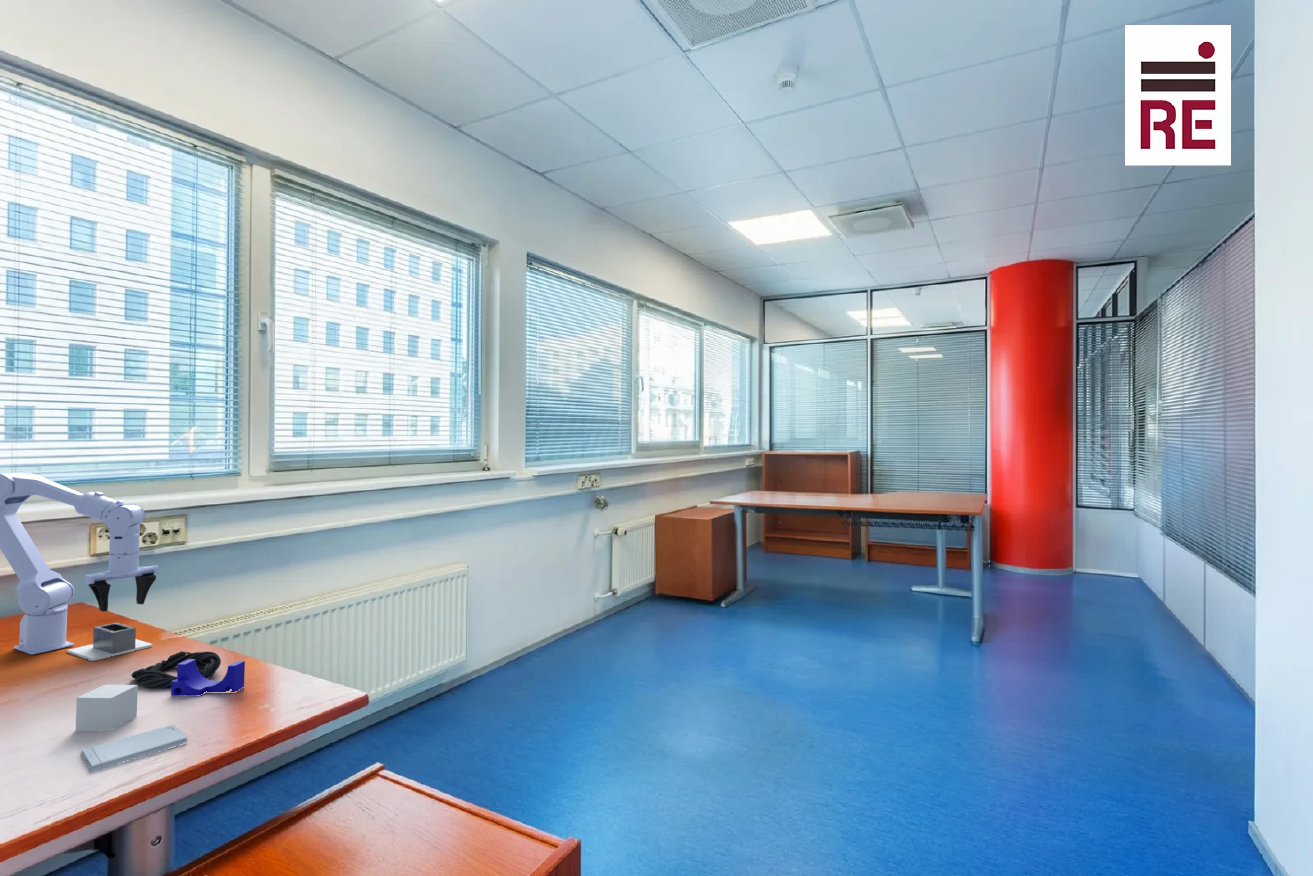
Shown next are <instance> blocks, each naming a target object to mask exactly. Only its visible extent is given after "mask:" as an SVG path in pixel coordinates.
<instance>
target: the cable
mask: <svg viewBox="0 0 1313 876" xmlns="http://www.w3.org/2000/svg"><path fill="white" fill-rule="evenodd" d="M188 659H196V666H197V668H200V669H198V671H199V672H200V674H201V675H202V676H203V677H205V678H206V679H207V678H208V679H211V678H212V676H213V675H214V674H215V673H216V671H217V670H218V669H219V668H220V666H221V664H222V663H221V662H222V661H221V660H222V659H221V658H220V656H219V654H217V652H214V651H197V652H196V651H195V652H190V651H179V652H176V653H173V654H171V655H170V656H168V657H167V659H166V660H164V659H161V660H160V661H159V662H157V663H156V664H153V665H149V666H147V667H144V668H140V669H138V670H134V671H133V672H132V673H131V678H132V679H134V680H135V681H134V682H135V683H137V682H140V684H141V685H143V686H144V687H145V688H154V687H156V688H158V689H164V688H171V681H174V680H176V679H177V676H174V675H173V674H169V673H167V672H164V669H165V670H170V669H169V668H171V669H174V668H176V667H178V664H179V663H181V662H184V661H186V660H188ZM204 668H205V669H204Z"/></svg>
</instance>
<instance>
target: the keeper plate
mask: <svg viewBox="0 0 1313 876" xmlns="http://www.w3.org/2000/svg"><path fill="white" fill-rule="evenodd" d="M152 647H153V643H150V642H147V641H144V640H140V639H137V638H136V640H135V649H131V650H127V651H122V652H118V653H114V654H111V653H108V652H105V651H102V650H99V649H96V648H93V643H92V644H86V645H82V646H79V647H74V648H70V649H66V653H68V654H69V655H70V654H71V655H73V656H76V655H77V657H79V658H82V659H85V660H87V659H88V661H90V662H95V661H99V660H103V659H107V658H111V656H112V657H116V656H119V655H123V654H128V653H132V652H136V651H139V650H143V649H148V648H152ZM135 650H136V651H135ZM115 655H116V656H115Z"/></svg>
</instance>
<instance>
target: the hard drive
mask: <svg viewBox="0 0 1313 876" xmlns="http://www.w3.org/2000/svg"><path fill="white" fill-rule="evenodd" d="M185 742H187V743H188V737H187V735H185V734H184V733H183V732H182V731H181V730H180V729H179V728H178V726H176V725H175V724H169V725H166V726H163V727H160V728H156V729H153V730H152V729H151V730H149V731H145V732H141V733H137V734H134V735H130V736H126V737H123V738H120V739H116V740H112V741H109V742H105V743H101V744H99V745H95V746H91V747H88V748H84V749H82V750H81V753H80V755H81V757H82V759H83V760H84V762H85V764H86V765H87V767H88V768H89V770H90V772H91V773H93V772H96V771H100V770H103V769H107V768H110V767H112V766H111V765H114V766H117V765H119V764H118V763H121V762H123V761H127V760H131V761H133V759H134V758H137V759H139V758H138V757H141V756H144V755H147V756H150V755H149V754H151V755H153V753H154V754H157V753H160V752H159V751H161V752H164V751H166V750H165V749H167V750H169V749H168V748H170V747H173V746H178V745H180V744H183V743H185ZM178 747H179V746H178ZM163 750H164V751H163ZM156 752H157V753H156ZM144 757H145V756H144ZM141 758H142V757H141ZM134 760H135V759H134ZM127 762H128V761H127ZM116 764H117V765H116ZM121 764H122V763H121Z"/></svg>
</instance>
